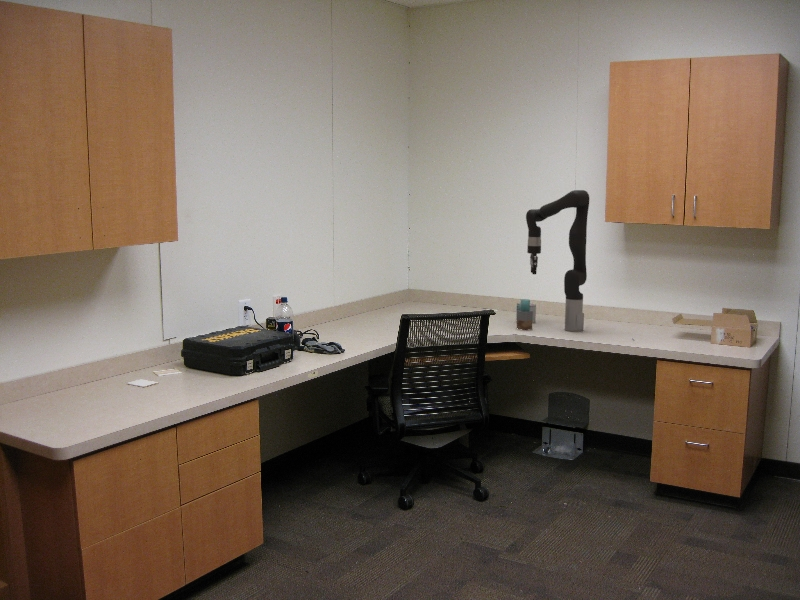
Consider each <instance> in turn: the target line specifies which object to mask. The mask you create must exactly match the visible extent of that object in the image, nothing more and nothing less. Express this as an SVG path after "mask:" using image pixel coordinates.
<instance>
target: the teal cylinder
mask: <svg viewBox="0 0 800 600" xmlns="http://www.w3.org/2000/svg"><path fill="white" fill-rule="evenodd" d="M520 303H521V308H520V311H523V312H529V311H530V303H531V300H530V299H528V298H527V299H526V298H525V299H520Z"/></svg>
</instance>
